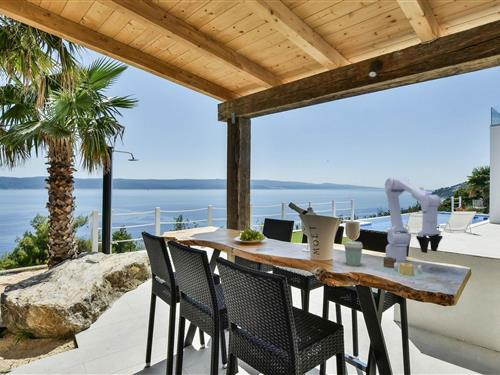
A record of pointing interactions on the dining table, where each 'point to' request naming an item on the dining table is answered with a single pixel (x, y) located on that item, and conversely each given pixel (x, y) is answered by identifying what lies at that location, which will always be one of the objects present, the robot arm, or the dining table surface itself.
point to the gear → (389, 262)
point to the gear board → (396, 271)
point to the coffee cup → (353, 252)
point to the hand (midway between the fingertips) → (429, 251)
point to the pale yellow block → (407, 269)
